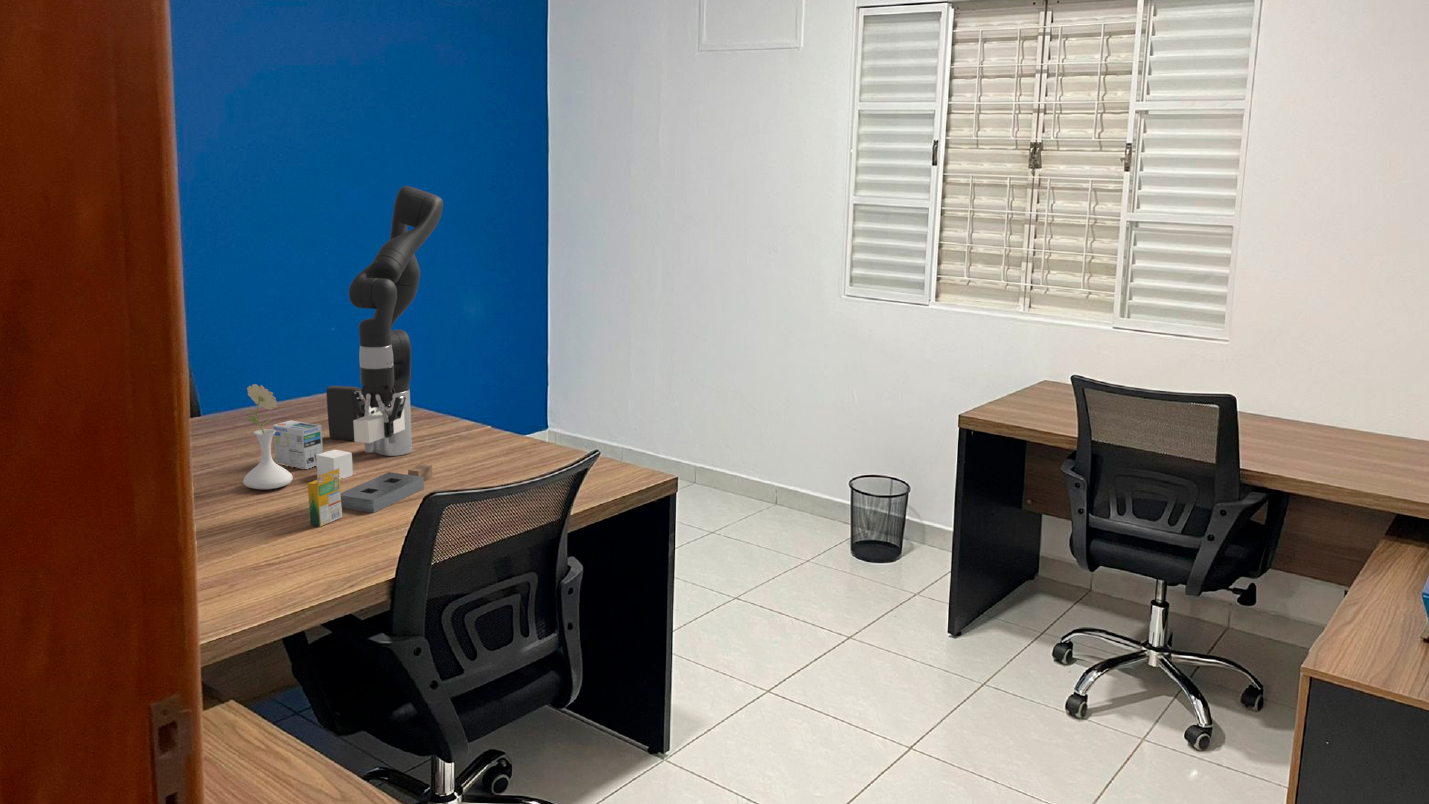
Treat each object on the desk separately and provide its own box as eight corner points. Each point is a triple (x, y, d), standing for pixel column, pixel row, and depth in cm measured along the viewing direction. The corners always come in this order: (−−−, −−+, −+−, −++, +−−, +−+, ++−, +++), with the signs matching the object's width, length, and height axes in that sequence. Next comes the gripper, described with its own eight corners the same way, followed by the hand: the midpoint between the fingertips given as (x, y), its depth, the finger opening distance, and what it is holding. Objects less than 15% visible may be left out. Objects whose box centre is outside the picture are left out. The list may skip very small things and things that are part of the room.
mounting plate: (373, 512, 262) (373, 500, 261) (337, 507, 265) (336, 494, 264) (424, 488, 280) (423, 476, 279) (389, 483, 283) (388, 472, 282)
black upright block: (365, 438, 324) (363, 386, 321) (358, 441, 321) (356, 389, 317) (335, 436, 326) (332, 384, 323) (328, 439, 322) (325, 387, 319)
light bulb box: (324, 464, 299) (322, 424, 296) (305, 470, 293) (303, 429, 290) (293, 458, 303) (291, 419, 301) (274, 464, 297) (271, 424, 295)
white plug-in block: (369, 455, 263) (367, 418, 261) (355, 453, 264) (353, 417, 262) (405, 440, 275) (403, 405, 273) (391, 439, 277) (389, 404, 275)
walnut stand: (418, 483, 284) (418, 471, 283) (408, 482, 285) (407, 469, 284) (432, 477, 289) (432, 465, 289) (422, 475, 290) (421, 463, 290)
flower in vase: (301, 487, 279) (295, 386, 274) (255, 496, 271) (248, 393, 266) (277, 475, 288) (271, 378, 282) (232, 484, 280) (224, 384, 275)
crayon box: (332, 515, 259) (329, 466, 256) (342, 517, 258) (340, 468, 255) (309, 525, 252) (306, 474, 250) (320, 527, 251) (317, 476, 249)
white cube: (334, 481, 284) (333, 458, 283) (317, 477, 287) (316, 454, 286) (353, 475, 290) (351, 452, 288) (335, 472, 292) (334, 449, 291)
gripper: (340, 364, 264) (344, 436, 268) (393, 369, 259) (396, 442, 263) (360, 359, 271) (364, 429, 275) (412, 363, 266) (415, 435, 270)
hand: (380, 435), depth 269 cm, fingers closed on white plug-in block, 4 cm apart
